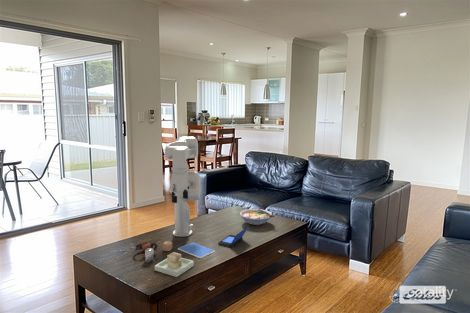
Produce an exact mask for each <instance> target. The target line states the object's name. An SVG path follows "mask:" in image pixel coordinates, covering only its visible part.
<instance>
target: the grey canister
mask: <svg viewBox="0 0 470 313" xmlns="http://www.w3.org/2000/svg"><path fill="white" fill-rule="evenodd" d="M154 252H155V251H154V248H148V249H146V250H145V251H144V253H145V258H144V259H145V263H153V262H154V261H155V258H154V257H155V256H154Z"/></svg>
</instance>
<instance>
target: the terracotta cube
mask: <svg viewBox="0 0 470 313" xmlns="http://www.w3.org/2000/svg"><path fill="white" fill-rule="evenodd" d="M162 245H163V246H162V249H163V250H162V251H163V252H171V251H172V249H173V241H164V243H163V244H162Z"/></svg>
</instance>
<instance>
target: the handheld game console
mask: <svg viewBox="0 0 470 313" xmlns="http://www.w3.org/2000/svg"><path fill="white" fill-rule="evenodd" d="M248 228H249V226H247V227H245V228H244V229H242V230H241V231H240V232H238V233H237V234H236V235H234V234H229V235H227V236H226V237H224V238H223V239H222V240H221V239H220V240H219V242H218V243H217V244H218V245H219V246H223V247H225V248H226V247H227V248H233V246H235V245H236V243H239V242H240V241H242V240H243V236H244V235H245V233H246V232H247V231H248Z"/></svg>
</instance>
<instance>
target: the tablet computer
mask: <svg viewBox="0 0 470 313" xmlns="http://www.w3.org/2000/svg"><path fill="white" fill-rule="evenodd" d="M177 250H178V251H180V252H184V253H186V254H188V255H191V256H193V257H195V258H198V259H202V258H205V257H207V256H209V254H210V255H212V254H214V253H215V252H216V250H214V249H212V248H209V247H207V246H203V245H202V244H199V243H196V242H190V243H187V244H185V245H181V246H179V247H178V248H177Z"/></svg>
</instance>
